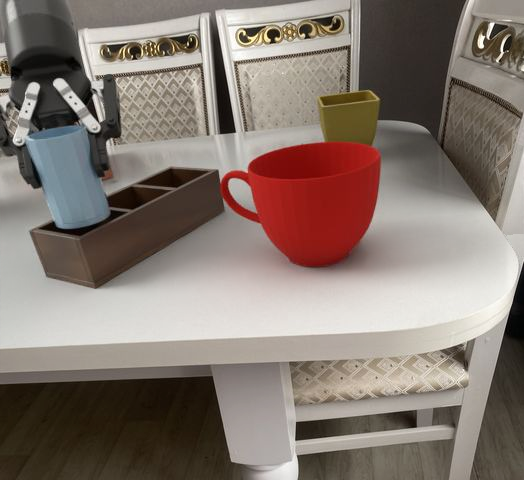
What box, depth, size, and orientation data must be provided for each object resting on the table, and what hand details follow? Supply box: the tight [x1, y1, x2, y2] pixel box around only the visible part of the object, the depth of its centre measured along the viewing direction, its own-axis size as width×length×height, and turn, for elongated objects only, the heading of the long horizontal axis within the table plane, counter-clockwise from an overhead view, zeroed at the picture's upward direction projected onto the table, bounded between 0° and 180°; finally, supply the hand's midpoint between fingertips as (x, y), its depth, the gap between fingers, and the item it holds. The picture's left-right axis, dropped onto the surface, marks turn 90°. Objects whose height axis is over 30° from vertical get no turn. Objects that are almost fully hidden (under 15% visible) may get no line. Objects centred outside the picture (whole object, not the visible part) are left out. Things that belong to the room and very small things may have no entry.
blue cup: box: [24, 125, 111, 229], centre depth 55 cm, size 6×6×9 cm
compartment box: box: [28, 165, 226, 289], centre depth 64 cm, size 8×24×6 cm, turn 147°
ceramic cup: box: [220, 141, 382, 268], centre depth 55 cm, size 13×17×10 cm
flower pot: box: [316, 89, 381, 147], centre depth 84 cm, size 9×9×9 cm
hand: (67, 178), depth 54 cm, fingers closed on blue cup, 6 cm apart
